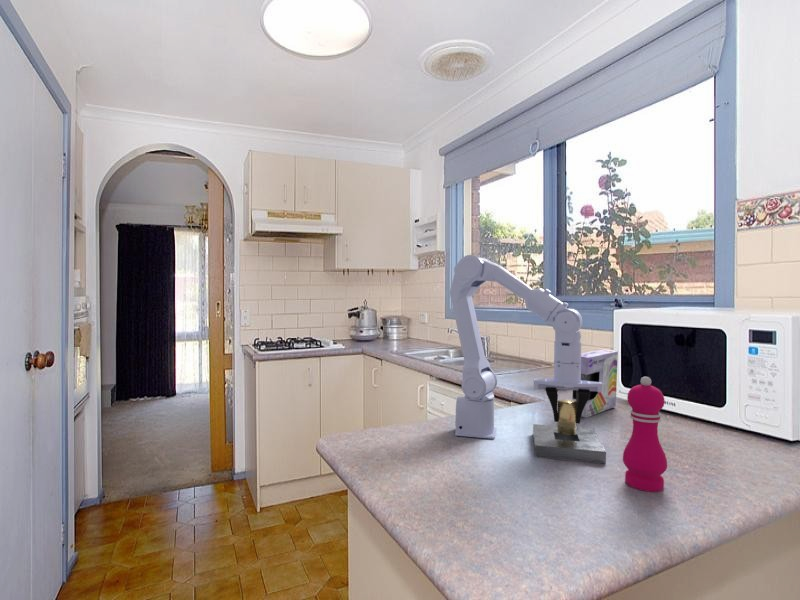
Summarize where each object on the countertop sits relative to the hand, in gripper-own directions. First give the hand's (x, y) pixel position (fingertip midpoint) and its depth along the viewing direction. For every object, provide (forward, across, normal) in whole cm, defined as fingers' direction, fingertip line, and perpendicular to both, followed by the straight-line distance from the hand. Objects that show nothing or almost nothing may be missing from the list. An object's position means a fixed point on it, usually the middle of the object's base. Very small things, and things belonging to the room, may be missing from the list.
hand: (566, 421), depth 103 cm
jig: (+6, 0, 0) cm, 6 cm away
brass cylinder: (+2, 0, 0) cm, 2 cm away
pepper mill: (+6, +12, -17) cm, 22 cm away
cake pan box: (+6, +11, +35) cm, 37 cm away
